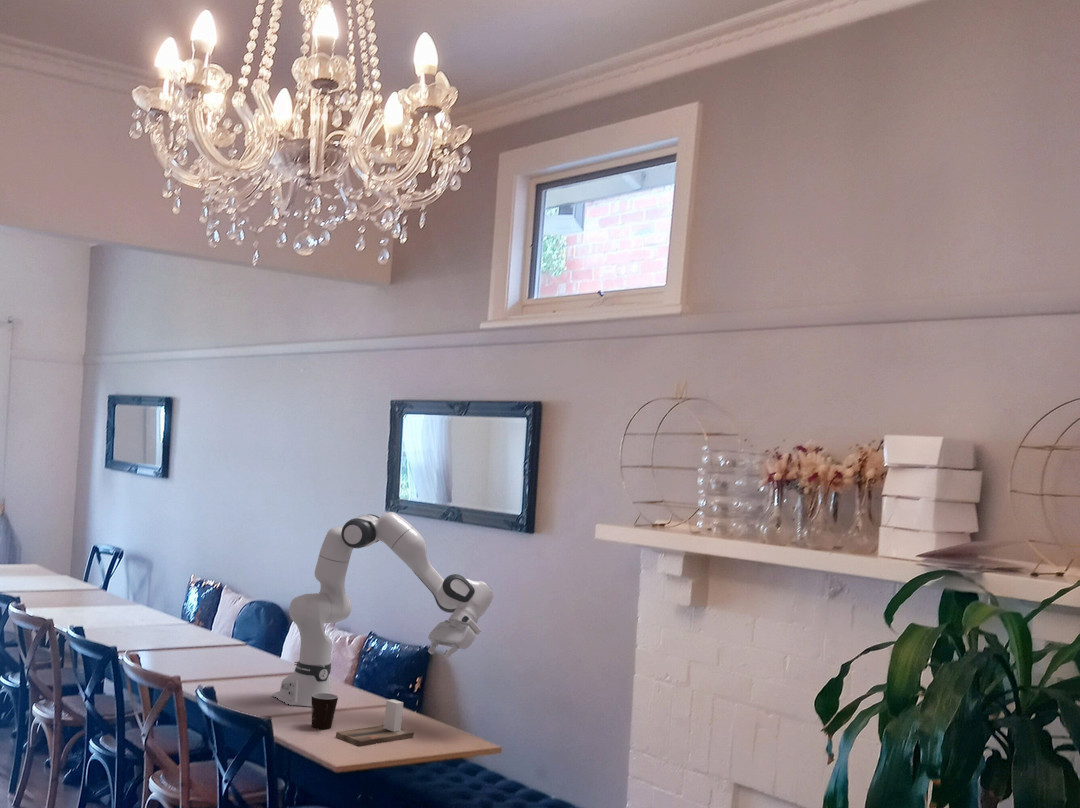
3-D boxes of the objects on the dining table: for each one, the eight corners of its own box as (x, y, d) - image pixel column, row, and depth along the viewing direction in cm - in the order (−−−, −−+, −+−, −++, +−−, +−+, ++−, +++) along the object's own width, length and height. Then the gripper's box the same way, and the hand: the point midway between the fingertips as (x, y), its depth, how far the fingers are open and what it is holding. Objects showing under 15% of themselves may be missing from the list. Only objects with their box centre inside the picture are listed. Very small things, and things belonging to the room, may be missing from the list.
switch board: (335, 736, 320) (336, 731, 321) (388, 728, 337) (389, 724, 337) (359, 746, 312) (360, 741, 313) (412, 737, 329) (413, 732, 329)
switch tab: (383, 728, 331) (386, 700, 331) (390, 727, 333) (393, 699, 334) (393, 731, 327) (396, 703, 328) (400, 730, 330) (403, 702, 330)
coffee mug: (312, 722, 335) (316, 691, 336) (338, 725, 334) (341, 695, 335) (301, 730, 324) (304, 699, 325) (327, 734, 323) (330, 702, 324)
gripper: (438, 614, 356) (415, 645, 349) (473, 619, 341) (449, 651, 334) (449, 625, 359) (426, 656, 352) (484, 631, 343) (460, 664, 336)
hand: (438, 654), depth 342 cm, fingers open, 8 cm apart
